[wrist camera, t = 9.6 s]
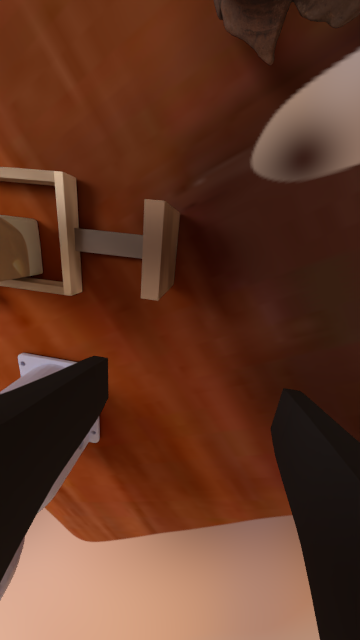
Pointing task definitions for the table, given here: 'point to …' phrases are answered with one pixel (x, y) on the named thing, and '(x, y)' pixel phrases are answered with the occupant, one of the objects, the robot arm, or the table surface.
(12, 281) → the carriage
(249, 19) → the pottery mug
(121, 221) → the table surface
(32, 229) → the skincare box
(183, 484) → the table surface
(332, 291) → the table surface
